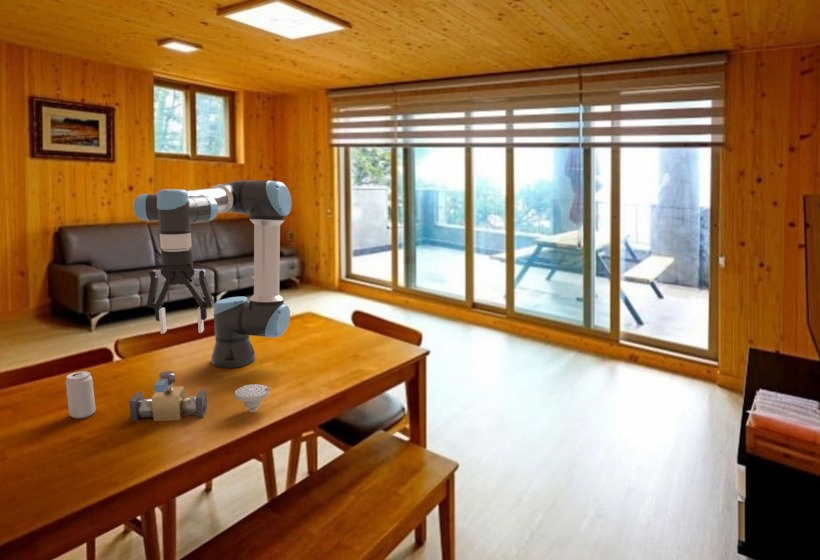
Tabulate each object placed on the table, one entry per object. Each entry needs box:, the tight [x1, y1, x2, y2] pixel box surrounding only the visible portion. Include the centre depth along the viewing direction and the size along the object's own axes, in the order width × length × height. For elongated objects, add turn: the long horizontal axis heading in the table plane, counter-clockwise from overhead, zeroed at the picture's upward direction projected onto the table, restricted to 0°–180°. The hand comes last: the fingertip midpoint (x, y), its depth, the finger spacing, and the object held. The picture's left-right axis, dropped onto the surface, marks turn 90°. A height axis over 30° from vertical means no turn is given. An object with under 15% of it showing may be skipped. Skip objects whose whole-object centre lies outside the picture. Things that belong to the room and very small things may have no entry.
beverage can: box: [65, 371, 97, 420], centre depth 154 cm, size 6×6×12 cm
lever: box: [154, 370, 176, 393], centre depth 151 cm, size 10×4×2 cm, turn 9°
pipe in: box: [180, 388, 208, 419], centre depth 157 cm, size 6×6×6 cm
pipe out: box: [128, 391, 153, 423], centre depth 154 cm, size 6×6×6 cm
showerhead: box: [234, 383, 271, 413], centre depth 159 cm, size 9×7×10 cm
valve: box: [151, 383, 186, 422], centre depth 155 cm, size 7×7×10 cm
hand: (182, 331), depth 148 cm, fingers open, 9 cm apart
